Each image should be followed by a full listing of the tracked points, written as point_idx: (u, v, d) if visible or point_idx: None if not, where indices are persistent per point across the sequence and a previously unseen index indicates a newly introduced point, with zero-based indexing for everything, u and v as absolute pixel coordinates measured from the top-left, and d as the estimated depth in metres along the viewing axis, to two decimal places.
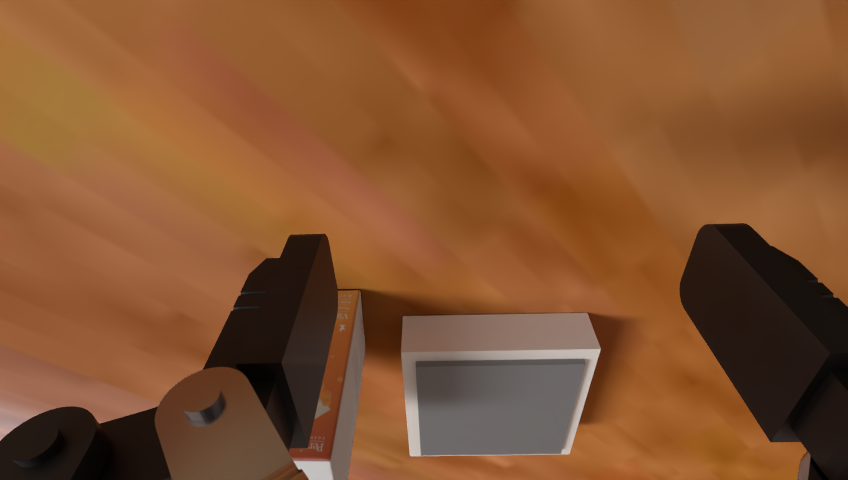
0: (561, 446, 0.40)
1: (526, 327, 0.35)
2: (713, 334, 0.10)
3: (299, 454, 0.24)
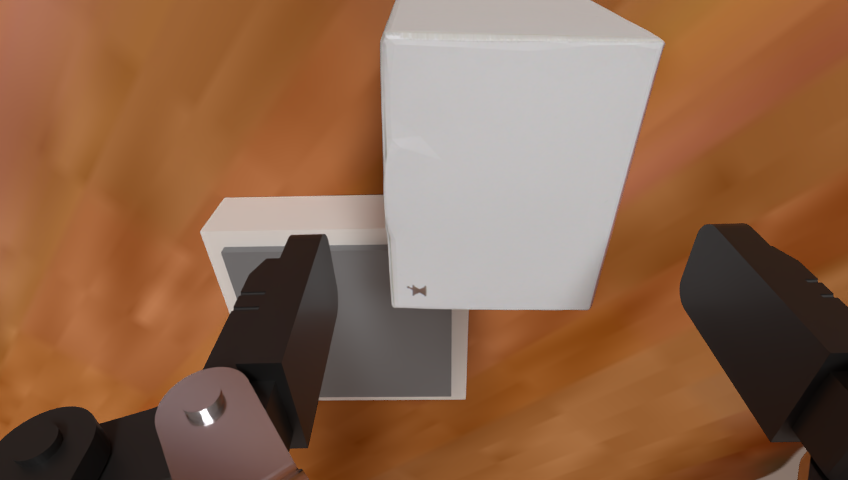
0: None
1: None
2: (713, 334, 0.10)
3: None
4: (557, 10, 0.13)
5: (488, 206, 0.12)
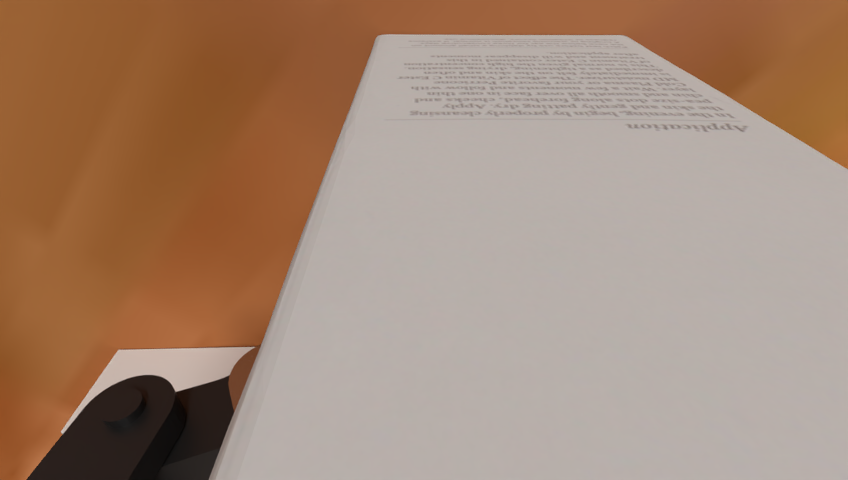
0: None
1: None
2: None
3: None
4: None
5: None
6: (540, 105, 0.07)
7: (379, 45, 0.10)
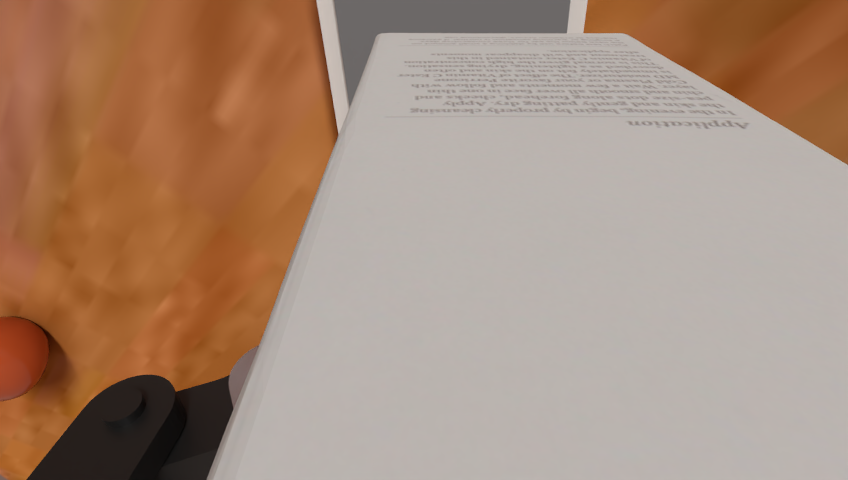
0: None
1: None
2: None
3: None
4: None
5: None
6: (541, 102, 0.07)
7: (379, 43, 0.10)
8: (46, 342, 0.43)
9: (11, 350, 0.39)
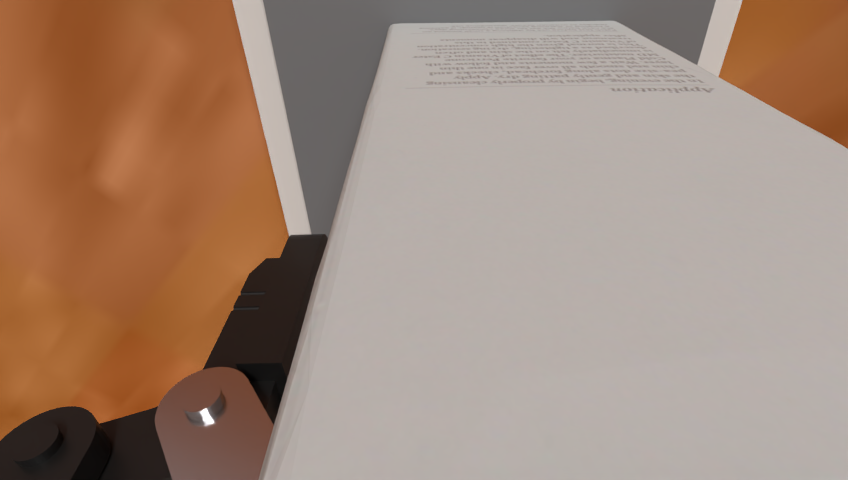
0: None
1: None
2: None
3: None
4: (775, 187, 0.05)
5: None
6: (538, 76, 0.08)
7: (393, 32, 0.12)
8: None
9: None
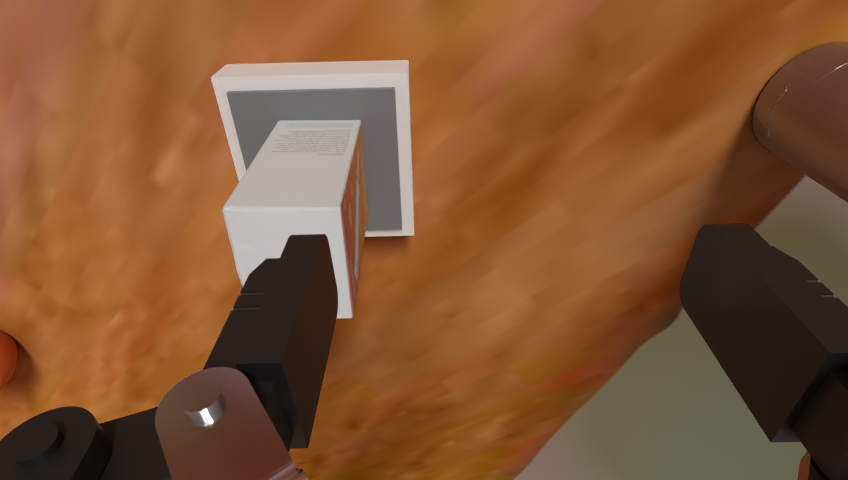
0: None
1: None
2: (713, 334, 0.10)
3: (352, 294, 0.28)
4: (319, 178, 0.27)
5: None
6: (304, 148, 0.30)
7: (276, 126, 0.34)
8: (15, 349, 0.52)
9: None
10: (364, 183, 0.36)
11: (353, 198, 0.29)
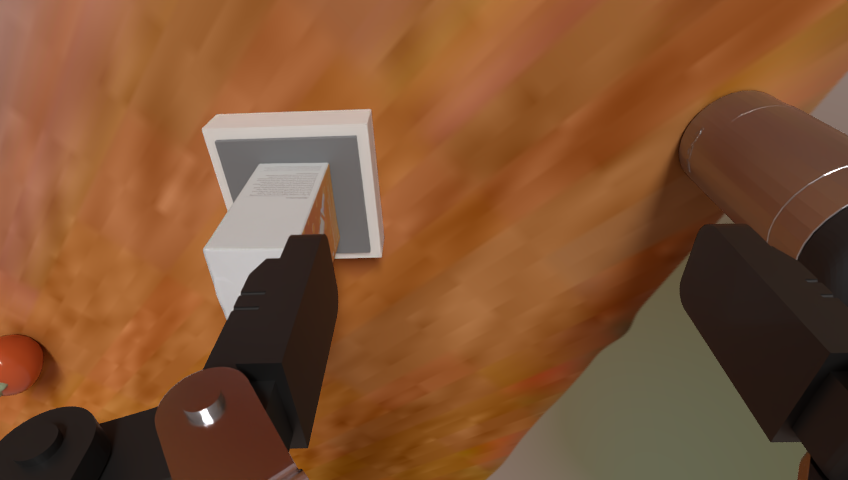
0: None
1: (379, 205, 0.46)
2: (713, 334, 0.10)
3: None
4: (283, 221, 0.33)
5: None
6: (276, 192, 0.36)
7: (255, 170, 0.40)
8: (41, 353, 0.59)
9: (16, 359, 0.55)
10: (333, 215, 0.42)
11: None
